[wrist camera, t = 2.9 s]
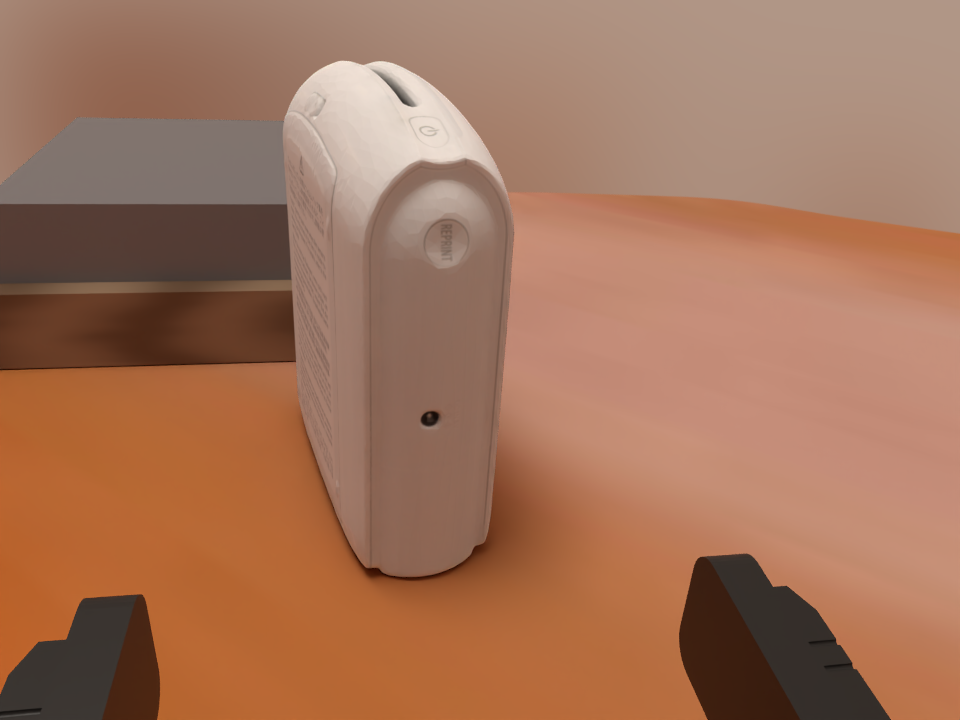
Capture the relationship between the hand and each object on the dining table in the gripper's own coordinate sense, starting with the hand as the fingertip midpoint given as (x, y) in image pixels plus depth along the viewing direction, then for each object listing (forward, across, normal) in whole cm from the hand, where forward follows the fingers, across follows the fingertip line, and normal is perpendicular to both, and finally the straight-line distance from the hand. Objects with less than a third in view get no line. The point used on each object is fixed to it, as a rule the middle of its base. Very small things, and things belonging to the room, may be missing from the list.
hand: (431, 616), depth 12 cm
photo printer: (+13, 0, +7) cm, 15 cm away
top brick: (+28, +7, +4) cm, 29 cm away
